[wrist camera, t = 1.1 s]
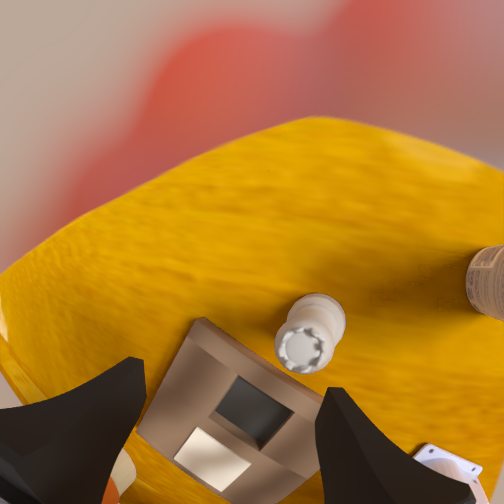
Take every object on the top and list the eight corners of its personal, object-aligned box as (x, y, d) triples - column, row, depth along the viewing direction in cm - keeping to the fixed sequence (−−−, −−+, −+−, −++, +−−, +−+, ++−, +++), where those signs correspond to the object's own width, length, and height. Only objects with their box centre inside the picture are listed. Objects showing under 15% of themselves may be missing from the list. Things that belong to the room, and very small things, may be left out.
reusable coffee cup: (158, 466, 26) (73, 530, 11) (137, 502, 27) (72, 552, 13) (86, 400, 29) (-5, 434, 15) (77, 448, 31) (7, 481, 16)
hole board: (361, 418, 20) (361, 429, 18) (261, 508, 22) (256, 518, 20) (204, 316, 24) (194, 320, 23) (143, 426, 26) (134, 432, 25)
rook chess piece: (343, 350, 21) (341, 393, 13) (287, 347, 22) (256, 385, 14) (347, 293, 21) (349, 309, 13) (289, 291, 22) (259, 305, 15)
